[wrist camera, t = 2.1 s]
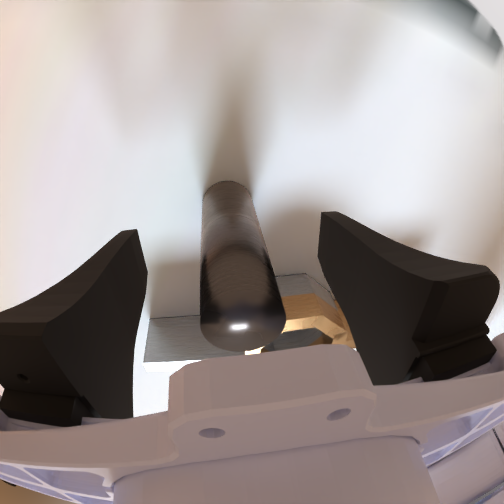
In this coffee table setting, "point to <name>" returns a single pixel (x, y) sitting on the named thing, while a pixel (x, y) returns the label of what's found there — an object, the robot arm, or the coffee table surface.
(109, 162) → the coffee table surface
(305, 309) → the hinge
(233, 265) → the hinge pin
